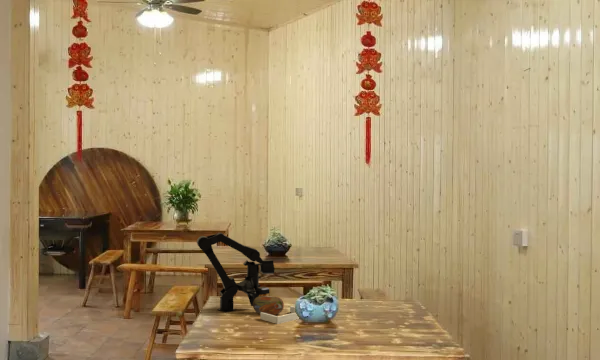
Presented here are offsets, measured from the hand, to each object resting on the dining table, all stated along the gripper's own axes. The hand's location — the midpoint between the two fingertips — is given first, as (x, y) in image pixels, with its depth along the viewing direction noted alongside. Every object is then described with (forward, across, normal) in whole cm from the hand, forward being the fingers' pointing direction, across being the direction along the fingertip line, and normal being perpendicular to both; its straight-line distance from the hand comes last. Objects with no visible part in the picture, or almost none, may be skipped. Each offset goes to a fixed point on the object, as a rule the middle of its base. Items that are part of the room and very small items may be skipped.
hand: (252, 306), depth 285 cm
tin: (+2, +12, 0) cm, 12 cm away
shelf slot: (+2, +23, 0) cm, 23 cm away
